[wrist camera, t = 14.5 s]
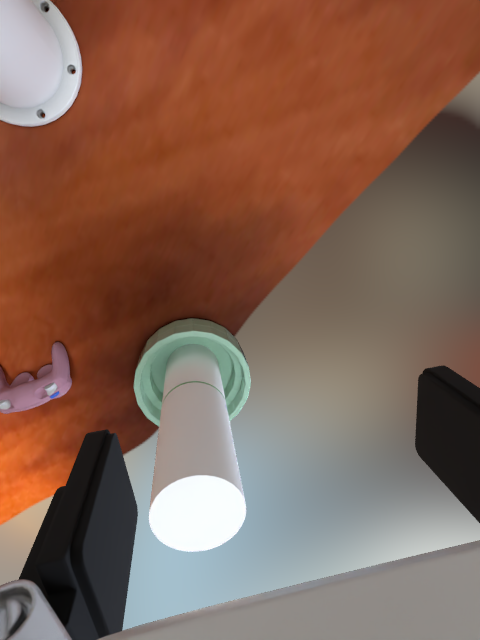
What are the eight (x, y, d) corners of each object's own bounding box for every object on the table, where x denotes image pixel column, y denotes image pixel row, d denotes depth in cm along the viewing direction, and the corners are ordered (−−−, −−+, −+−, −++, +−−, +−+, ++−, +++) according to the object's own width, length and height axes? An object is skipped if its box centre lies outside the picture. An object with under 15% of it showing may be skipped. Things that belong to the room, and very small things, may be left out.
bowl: (134, 406, 52) (128, 429, 47) (146, 310, 48) (141, 323, 43) (233, 416, 55) (238, 438, 50) (253, 325, 51) (260, 339, 46)
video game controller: (8, 380, 50) (-2, 426, 45) (-15, 361, 47) (-29, 408, 42) (79, 357, 50) (76, 400, 46) (61, 336, 47) (56, 380, 42)
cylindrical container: (173, 396, 52) (163, 561, 28) (160, 350, 49) (136, 490, 26) (223, 384, 52) (253, 537, 29) (212, 338, 50) (236, 464, 26)
